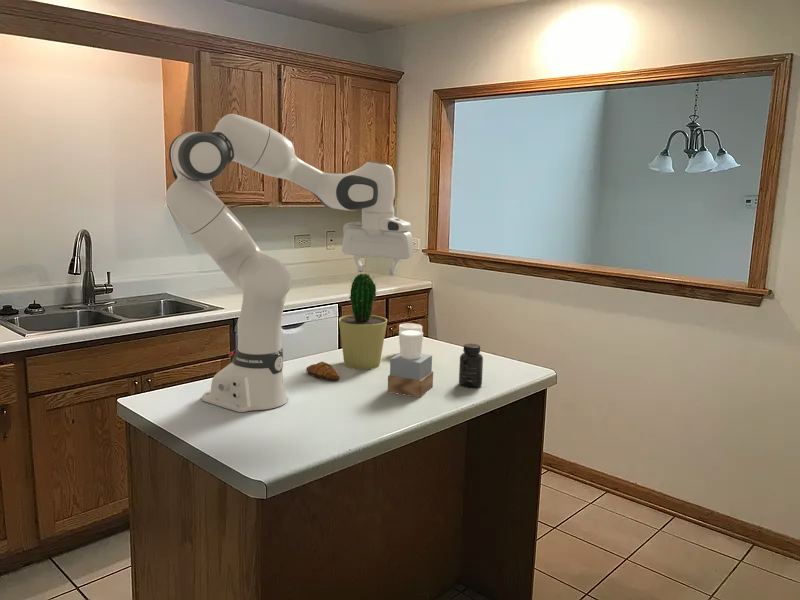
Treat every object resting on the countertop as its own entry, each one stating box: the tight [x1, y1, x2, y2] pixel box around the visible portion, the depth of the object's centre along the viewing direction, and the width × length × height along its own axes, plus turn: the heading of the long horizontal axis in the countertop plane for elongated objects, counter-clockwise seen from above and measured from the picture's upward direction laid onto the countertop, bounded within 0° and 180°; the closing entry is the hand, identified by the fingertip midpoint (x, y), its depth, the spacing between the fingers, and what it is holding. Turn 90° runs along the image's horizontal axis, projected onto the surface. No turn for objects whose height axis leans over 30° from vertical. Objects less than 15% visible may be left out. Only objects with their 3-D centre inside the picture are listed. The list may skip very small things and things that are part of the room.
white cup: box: [398, 322, 423, 353], centre depth 222 cm, size 8×8×10 cm
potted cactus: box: [338, 273, 388, 370], centre depth 206 cm, size 15×15×30 cm
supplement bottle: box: [458, 343, 484, 389], centre depth 191 cm, size 7×7×12 cm
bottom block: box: [387, 370, 434, 398], centre depth 186 cm, size 10×10×5 cm
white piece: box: [398, 330, 424, 359], centre depth 183 cm, size 7×7×7 cm
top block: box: [389, 352, 433, 380], centre depth 185 cm, size 9×9×5 cm
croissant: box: [306, 361, 340, 382], centre depth 195 cm, size 14×7×5 cm, turn 48°
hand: (376, 273), depth 180 cm, fingers open, 8 cm apart
